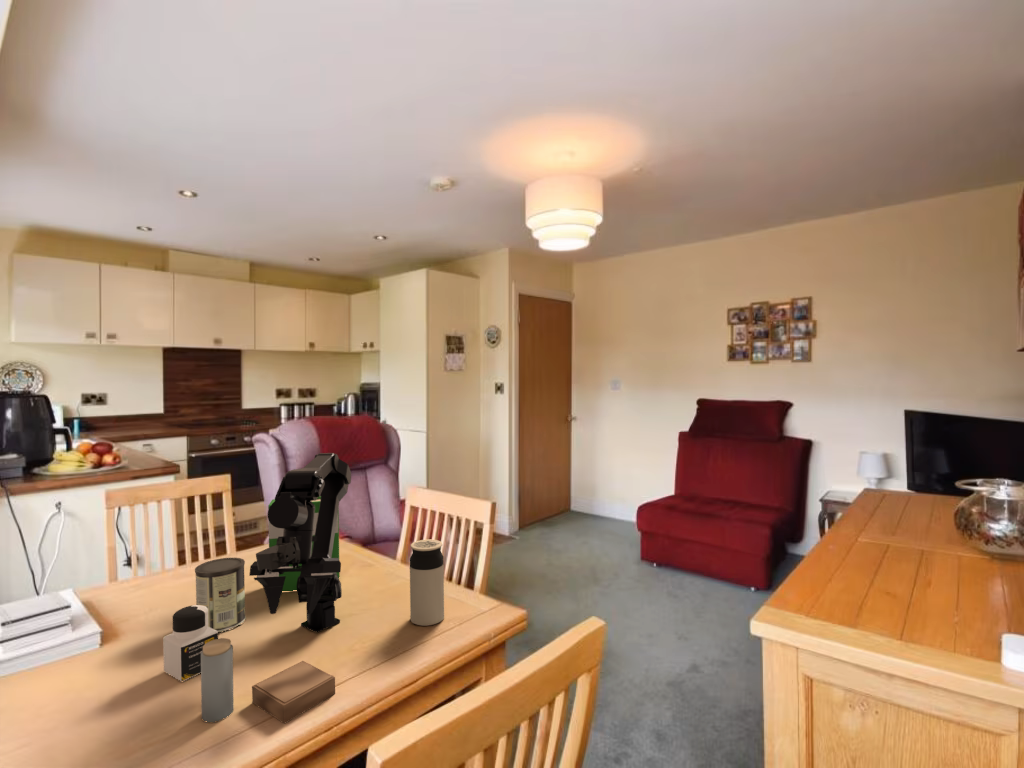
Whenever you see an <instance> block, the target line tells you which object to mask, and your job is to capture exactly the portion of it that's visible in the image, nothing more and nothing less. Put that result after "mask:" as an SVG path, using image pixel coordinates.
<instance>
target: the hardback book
mask: <svg viewBox="0 0 1024 768" xmlns="http://www.w3.org/2000/svg"><path fill="white" fill-rule="evenodd" d="M320 500H321V496H320V497H318V498H317V500H316V501H312V503H313V504H314V505H315V514H314V526H313V536H315V531H316V524H317V518H318V512H319V506H320ZM274 502H275V498H274V499H271V501H270V502H269V504H268V505H267V507H268V509H267V511H268V510H269V508H270V506H271V505H272V503H274ZM339 510H340V509H339V508H338V515H337V522H336V529H335V536H334V543H333V550H332V557H331V558H338V559H339V560H340V519H339V518H340V517H339V516H340V513H339ZM283 532H284V529H282V528H276V527H274V526H273V525H272V524H271V523H270V522H269V521H268V548H269V547H272V546H275V545H276V543H277V539H278V537H282V536H283ZM313 543H314V541H313V542H312V549H313ZM311 555H312V551H311ZM291 566H292V565H289V567H291ZM299 566H302V564H299ZM300 574H301V571H298V572H284V573H283V574H279V576H286V578H285V582H284V586H283V590H282V591H293V590H297V579H298V577H299V576H300ZM336 574H337V576H338V578H339V577H341V575H340V574H341V572H336ZM339 579H340V578H339Z"/></svg>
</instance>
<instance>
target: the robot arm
mask: <svg viewBox="0 0 1024 768" xmlns="http://www.w3.org/2000/svg"><path fill="white" fill-rule="evenodd" d="M351 482H352V472H351V468H350V467H349V464H348V463H347V462H345V461H344V460H342V459H341V458H339V455H338V454H337V453H335V452H327V453H326V452H325V453H323V452H322V453H321V452H320V453H317V454H314V458H313V459H312V460H311V461H310V462H308V463H307V464H306V465H305V466H304V467H303V468H296V469H291V470H288V471H287V472H286V473H285V475H284V476H283V477H282V480H281V482H280V484H279V487H278V490H277V492H276V494H275V497H274V499H275V502H274V503H272V505H271V506H270V508H269V510H268V509H267V519H268V523H269V522H270V523H271V524H272V525H273V526H274V527H276V528H282V529H284V532H283V536H282V537H278V539H277V543H276V545H275V546H272V547H269V546H268V548H265V549H263V550H261V551H258V552H256V553H255V558H256V561H255V560H254V562H252V564H251V565H250V567H249V575H248V576H250V577H252V576H253V580H254V581H257V582H258V583H259V584H260V585H261V586H262V587H263V591H264V593H265V596H266V597H265V598H266V600H267V605H268V610H269V613H270V614H271V615H276V613H277V610H278V609H279V605H280V602H281V601H280V600H281V597H282V594H283V593H282V590H283V586H284V582H285V578H286V576H279V574H283V573H284V572H298V571H301V574H300V576H299V577H298V579H297V592H296V593H297V598H298V599H297V600H298V603H306V604H305V605H306V607H305V609H306V621H303V622H301V623H300V626H301V627H303V628H305V629H308V630H309V631H312V632H314V633H320V632H322V631H324V630H326V629H328V628H330V627H333V626H335V625H337V624H339V623H340V622H341V619H339V618H337V617H336V608H335V602H337V600H339V599H341V598H342V596H343V594H342V591H343V590H342V582H341V580H340V578H338V576H337V574H336V572H340V573H341V570H342V569H341V568H342V563H341V561H340V558H339V559H338V558H331V557H332V550H333V543H334V536H335V529H336V522H337V515H338V508H339V507H340V506H339V505H340V502H341V500H343V498H344V497H345V496H346V495H347V493H348V489H349V485H351ZM320 496H321V500H320V506H319V512H318V518H317V524H316V531H315V536H313V526H314V514H315V505H314V504H313V503H312V501H316V500H317V498H318V497H320ZM313 541H314V543H313V549H312V542H313ZM311 551H312V555H311ZM299 564H302V566H299ZM289 565H292V566H291V567H289ZM255 576H256V577H255Z"/></svg>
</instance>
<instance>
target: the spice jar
mask: <svg viewBox="0 0 1024 768" xmlns="http://www.w3.org/2000/svg"><path fill="white" fill-rule="evenodd" d="M233 649H234V647H233V644H232V642H231V639H229V638H226V637H222V638H218V639H215V640H212V641H210V642H208V643H206V644H205V645H204V646H203V651H202V652H201V674H200V692H201V693H200V694H201V697H200V701H201V702H200V703H201V704H200V706H201V720H202V719H203V720H204V721H207V722H213V723H216V722H215V721H218V722H220V721H219V720H221V719H223V718H225V719H227V718H228V717H230V716H231V715H232V714H233V712H234V709H235V708H234V654H233V653H234V650H233ZM231 713H232V714H231ZM230 714H231V715H230ZM229 715H230V716H229ZM227 716H228V717H227ZM226 717H227V718H226ZM223 720H224V719H223ZM204 721H203V722H204ZM221 721H222V720H221ZM207 722H206V723H207Z"/></svg>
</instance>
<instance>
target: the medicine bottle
mask: <svg viewBox="0 0 1024 768" xmlns="http://www.w3.org/2000/svg"><path fill="white" fill-rule="evenodd" d="M215 639H219V633H218V631H217V630H215V629H212V628H210V627H208V608H207V607H206V606H202V605H196V604H193V605H188V606H184V607H182V608H180V609H179V610H177V611H175V612H174V614H173V615H172V633H170V634H167V635H164V637H163V638H162V642H163V643H162V644H163V645H162V648H163V672H164V671H165V672H166V674H167V673H168V674H167V675H169V674H170V675H171V677H172V676H173V678H174V677H175V678H174V679H176V680H177V679H178V680H177V681H179V680H180V681H179V682H181V681H184V682H186V681H188V680H190V679H192V678H194V677H196V675H197V676H199V675H201V674H200V673H201V652H202V651H203V646H204V645H205V644H206V643H208V642H210V641H212V640H215ZM165 672H164V673H165ZM198 674H199V675H198ZM170 675H169V676H170ZM193 676H194V677H193ZM191 677H192V678H191ZM189 678H190V679H189ZM187 679H188V680H187ZM185 680H186V681H185Z"/></svg>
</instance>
